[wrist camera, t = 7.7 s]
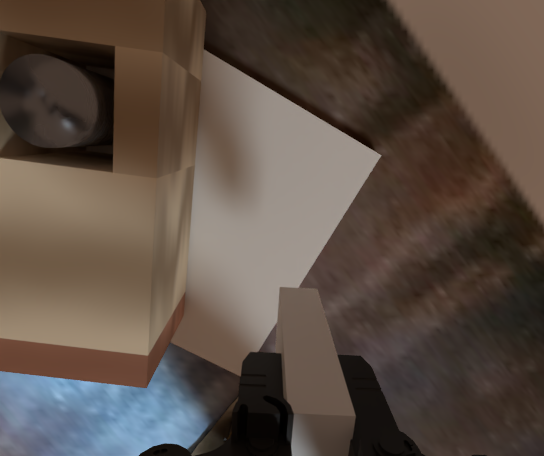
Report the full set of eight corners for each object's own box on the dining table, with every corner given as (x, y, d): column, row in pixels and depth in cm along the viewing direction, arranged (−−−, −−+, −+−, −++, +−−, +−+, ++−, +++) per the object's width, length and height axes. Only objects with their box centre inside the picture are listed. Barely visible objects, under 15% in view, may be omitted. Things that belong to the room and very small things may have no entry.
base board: (-108, 196, 20) (-124, 199, 19) (-25, -86, 16) (-40, -97, 16) (243, 368, 22) (242, 377, 21) (376, 154, 19) (381, 155, 18)
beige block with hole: (53, -10, 16) (-73, -93, 10) (206, 11, 16) (168, -58, 10) (59, 300, 20) (-30, 367, 14) (183, 315, 20) (146, 388, 14)
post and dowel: (21, 260, 20) (-119, 327, 13) (100, 65, 18) (-20, 15, 11) (84, 291, 21) (-18, 373, 14) (170, 105, 18) (101, 83, 11)
